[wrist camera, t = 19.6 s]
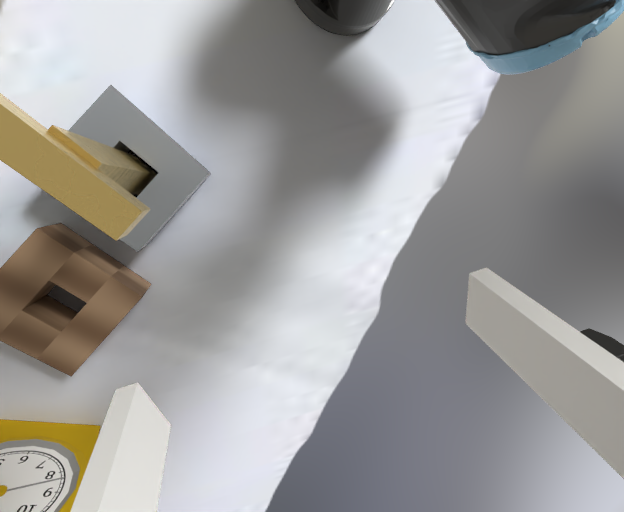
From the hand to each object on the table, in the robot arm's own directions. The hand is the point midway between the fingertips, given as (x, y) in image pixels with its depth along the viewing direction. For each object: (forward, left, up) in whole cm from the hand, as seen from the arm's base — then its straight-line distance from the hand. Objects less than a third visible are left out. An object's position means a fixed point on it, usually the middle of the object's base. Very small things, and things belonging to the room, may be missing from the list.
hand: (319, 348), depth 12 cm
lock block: (+22, 0, -32) cm, 39 cm away
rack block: (+10, -11, -32) cm, 35 cm away
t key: (+10, -11, -32) cm, 35 cm away
